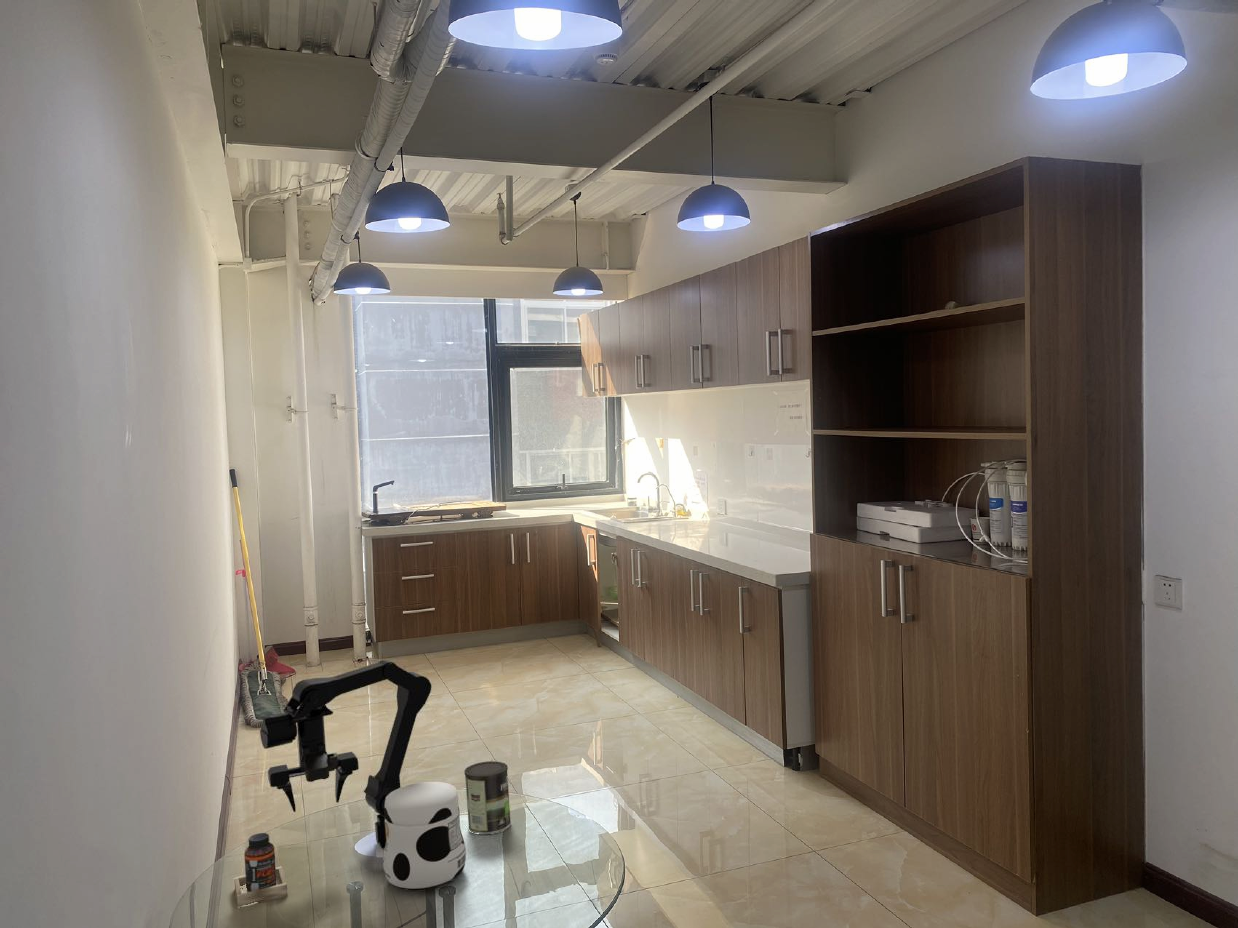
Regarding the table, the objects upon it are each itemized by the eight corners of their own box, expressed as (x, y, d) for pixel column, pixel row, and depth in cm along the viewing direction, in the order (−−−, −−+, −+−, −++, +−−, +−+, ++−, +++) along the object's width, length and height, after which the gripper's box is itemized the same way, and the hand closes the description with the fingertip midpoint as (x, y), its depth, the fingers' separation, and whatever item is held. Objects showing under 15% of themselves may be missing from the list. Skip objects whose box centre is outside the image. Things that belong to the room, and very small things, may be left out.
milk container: (378, 871, 202) (373, 789, 202) (456, 852, 209) (451, 774, 208) (392, 906, 186) (386, 818, 186) (476, 885, 193) (470, 800, 193)
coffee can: (513, 816, 228) (510, 759, 227) (508, 834, 217) (504, 775, 217) (471, 818, 228) (468, 761, 227) (464, 836, 217) (460, 777, 217)
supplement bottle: (259, 898, 191) (255, 844, 191) (240, 893, 194) (236, 839, 194) (283, 885, 196) (279, 833, 196) (264, 880, 199) (260, 828, 199)
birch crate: (282, 877, 202) (281, 866, 202) (287, 895, 193) (286, 884, 193) (235, 889, 197) (234, 877, 197) (238, 908, 189) (237, 896, 189)
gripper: (270, 756, 195) (275, 829, 196) (360, 739, 203) (365, 809, 204) (265, 742, 205) (270, 811, 206) (351, 726, 213) (356, 793, 214)
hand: (316, 806), depth 207 cm, fingers open, 9 cm apart
